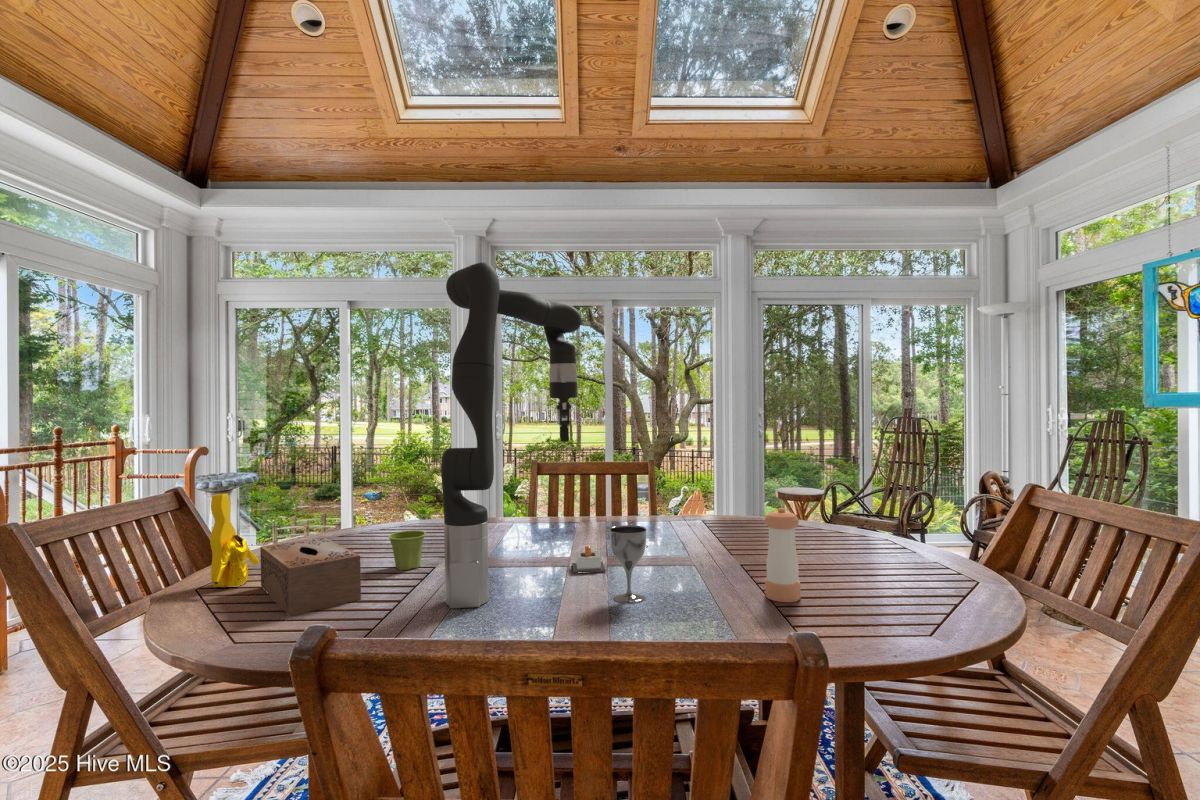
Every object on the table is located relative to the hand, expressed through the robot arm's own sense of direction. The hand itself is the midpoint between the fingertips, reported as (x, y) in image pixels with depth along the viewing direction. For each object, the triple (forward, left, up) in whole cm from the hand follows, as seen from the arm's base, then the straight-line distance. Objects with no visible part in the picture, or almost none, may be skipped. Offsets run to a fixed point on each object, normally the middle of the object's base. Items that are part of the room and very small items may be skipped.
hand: (564, 440), depth 164 cm
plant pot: (-1, +42, -33) cm, 53 cm away
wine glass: (-34, -12, -33) cm, 49 cm away
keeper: (-10, -5, -32) cm, 34 cm away
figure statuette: (-11, +81, -33) cm, 88 cm away
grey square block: (-10, -5, -32) cm, 34 cm away
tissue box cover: (-20, +60, -33) cm, 71 cm away
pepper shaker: (-38, -45, -33) cm, 68 cm away
